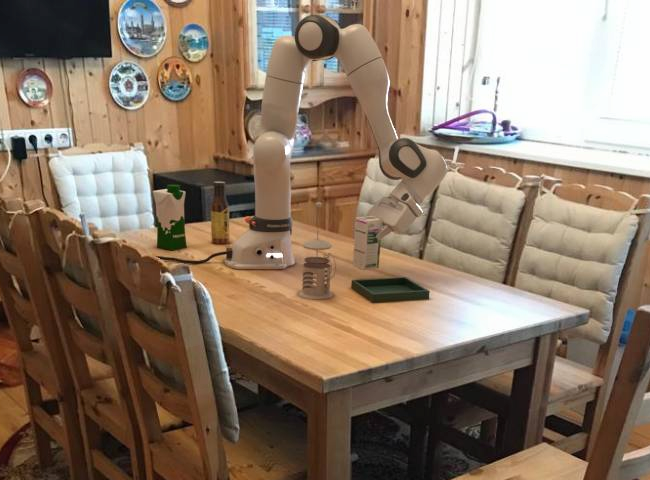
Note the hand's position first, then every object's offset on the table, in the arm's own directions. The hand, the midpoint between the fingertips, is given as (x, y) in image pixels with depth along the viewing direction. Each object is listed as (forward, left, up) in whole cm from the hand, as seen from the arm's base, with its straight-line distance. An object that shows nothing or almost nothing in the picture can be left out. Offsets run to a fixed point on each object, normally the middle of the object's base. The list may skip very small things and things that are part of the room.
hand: (371, 236), depth 242 cm
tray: (0, -16, -13) cm, 21 cm away
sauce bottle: (-31, +57, -13) cm, 66 cm away
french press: (-21, -13, -13) cm, 28 cm away
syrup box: (-1, 0, -9) cm, 9 cm away
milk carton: (-49, +53, -13) cm, 74 cm away
